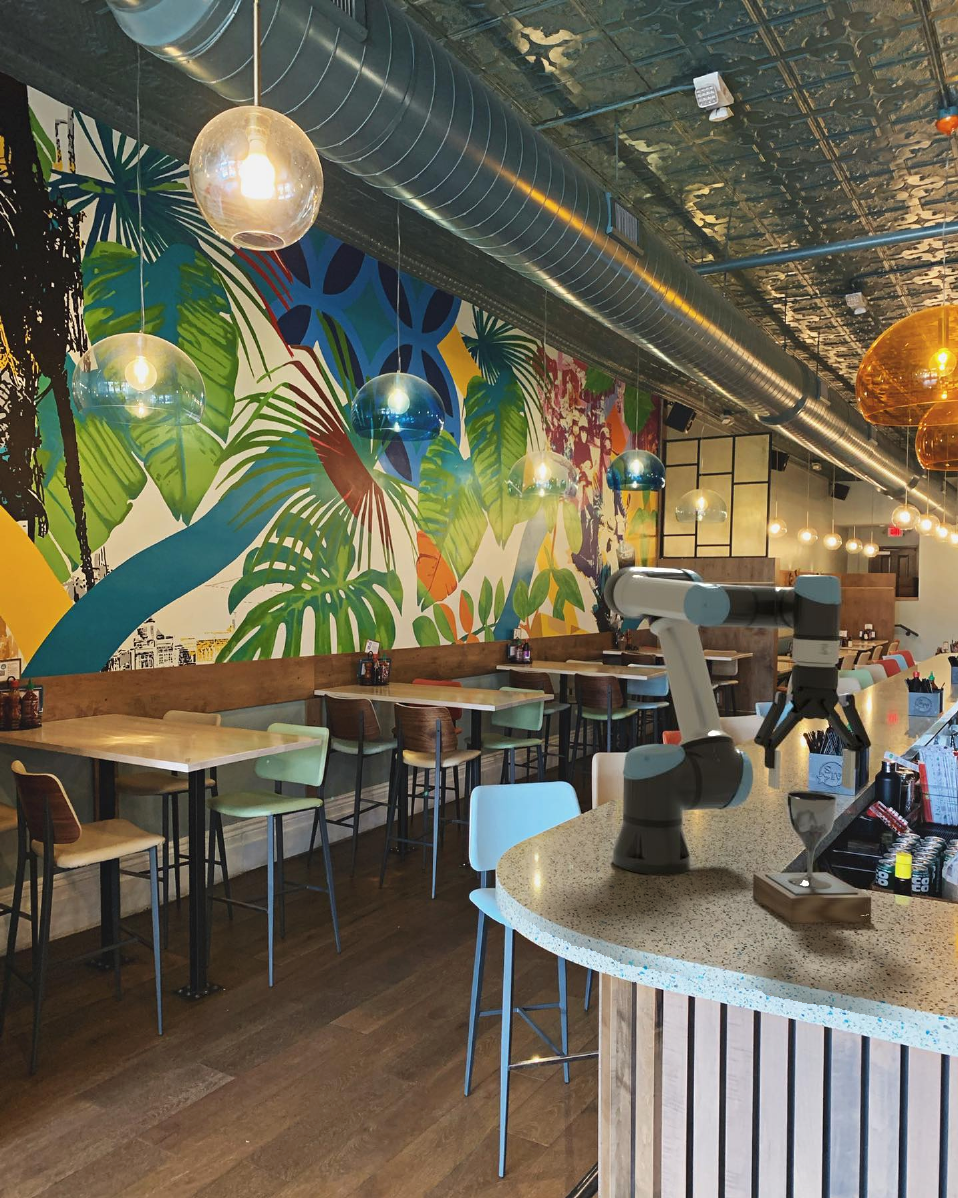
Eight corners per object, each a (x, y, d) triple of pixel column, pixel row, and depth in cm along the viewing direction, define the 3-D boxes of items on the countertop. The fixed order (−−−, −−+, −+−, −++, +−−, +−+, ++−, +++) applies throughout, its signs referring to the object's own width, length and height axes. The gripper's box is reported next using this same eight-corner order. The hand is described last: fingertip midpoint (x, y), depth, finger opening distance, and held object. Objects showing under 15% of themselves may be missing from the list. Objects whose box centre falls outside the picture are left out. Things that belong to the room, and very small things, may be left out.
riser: (790, 923, 145) (791, 896, 145) (752, 895, 159) (753, 871, 159) (870, 921, 147) (871, 895, 147) (826, 894, 161) (826, 870, 161)
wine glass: (822, 876, 157) (824, 791, 157) (842, 890, 149) (844, 800, 149) (778, 875, 157) (780, 790, 157) (795, 889, 149) (797, 799, 149)
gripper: (756, 664, 148) (752, 792, 148) (895, 668, 152) (891, 792, 152) (737, 661, 156) (733, 782, 156) (869, 664, 159) (866, 783, 159)
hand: (811, 788), depth 154 cm, fingers open, 13 cm apart
